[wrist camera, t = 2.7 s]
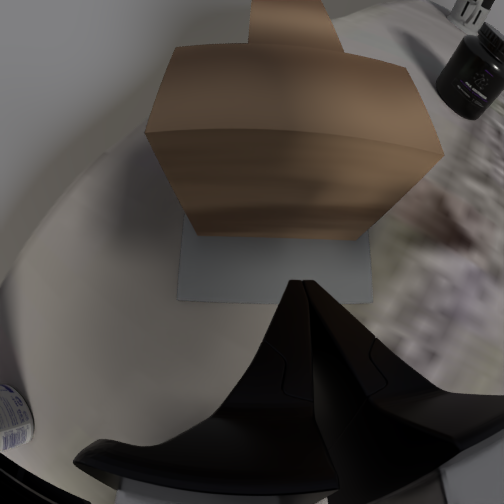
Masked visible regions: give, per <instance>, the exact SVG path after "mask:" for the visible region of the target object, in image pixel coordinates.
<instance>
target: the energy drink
mask: <svg viewBox="0 0 504 504" xmlns="http://www.w3.org/2000/svg"><path fill="white" fill-rule="evenodd" d="M33 432H34V424H33V419H32V415H31V413H30V410H29V408H28V406H27V404H26V402H25V401H24V399H23V398H22V396H21V395H20V394H19V393H18V392H17V391H16V390H15V389H14V388H12V387H11V386H9V385H6V384H2V385H0V452H3V451H6V450H9V449H12V448H15V447H17V446H20V445H23V444H25V443H28V442H30V441H31V439H32V437H33Z"/></svg>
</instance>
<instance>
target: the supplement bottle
mask: <svg viewBox="0 0 504 504" xmlns="http://www.w3.org/2000/svg"><path fill="white" fill-rule="evenodd" d="M478 34H479V35H478V36H474V35H467V36H465V37H464V38H463V39H462V41H461V42H460V44H459V45H458V47H457V49H456V50H455V52H454V53H453V55H452V57H451V58H450V60H449V61H448V63H447V65H446V66H445V68H444V69H443V71H442V72H441V74H440V76H439V77H438V79H437V81H436V87H437V90H438V92H439V94H440V96H441V97H442V99H443V100H444V101H445V102H446V103H447V104H448V106H449V107H450V108H452V109H453V110H454V111H455V112H456V113H458V114H459V115H460V116H462V117H464V118H466V119H468V120H476V119H478V118H479V117H480V116H481V115H482V114H483V113H484V112H485V110H486V109H487V108H488V107H489V106H490V105H491V104H492V103H493V101H494V100H495V99H496V98H497V97H498V96H499V95H500V93H501V92H502V91H503V90H504V36H503V35H502V34H501V33H500V32H499V31H498V30H496V29H495V28H494V27H492V26H491V25H490V24H488V23H486V22H484V23H483V25H482V26H481V28H480V29H479V30H478Z"/></svg>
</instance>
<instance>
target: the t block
mask: <svg viewBox="0 0 504 504" xmlns="http://www.w3.org/2000/svg"><path fill="white" fill-rule="evenodd" d="M145 135H146V137H147V139H148V141H149V143H150V145H151V147H152V149H153V151H154V153H155V155H156V157H157V159H158V161H159V163H160V165H161V167H162V169H163V171H164V173H165V175H166V177H167V179H168V181H169V183H170V185H171V187H172V189H173V190H174V192H175V194H176V196H177V198H178V200H179V202H180V204H181V206H182V208H183V209H184V211H185V213H186V215H187V217H188V219H189V221H190V223H191V224H192V226H193V228H194V230H195V232H196V234H197V236H227V237H265V238H298V239H326V240H352V241H356V240H357V239H358V238H359V237H360V236H361V235H362V234H363V233H365V232H366V231H367V230H368V229H369V228H370V227H371V226H372V225H373V224H374V223H376V222H377V221H378V220H379V219H380V218H381V217H382V216H383V215H384V214H385V213H386V212H387V211H388V210H390V209H391V208H392V207H393V206H394V205H395V204H396V203H397V202H398V201H399V200H400V199H401V198H402V197H403V196H404V195H405V194H406V193H407V192H408V191H409V190H410V189H411V188H412V187H413V186H414V185H416V184H417V183H418V182H419V181H420V180H421V179H422V178H423V177H424V176H425V175H426V174H427V173H428V172H429V171H430V170H431V169H432V167H433V166H434V165H435V164H436V163H437V162H438V161H439V160H440V159H441V158H442V157H443V156H444V153H443V150H442V147H441V144H440V141H439V139H438V136H437V134H436V131H435V128H434V126H433V124H432V121H431V119H430V116H429V114H428V112H427V110H426V107H425V105H424V103H423V101H422V99H421V97H420V95H419V92H418V90H417V88H416V86H415V84H414V83H413V81H412V79H411V77H410V75H409V73H408V71H407V69H406V68H404V67H401V66H398V65H394V64H391V63H387V62H384V61H380V60H376V59H372V58H367V57H363V56H358V55H354V54H349V53H344V50H343V48H342V45H341V43H340V41H339V38H338V36H337V33H336V31H335V29H334V27H333V24H332V22H331V20H330V18H329V16H328V14H327V12H326V10H325V8H324V6H323V4H322V2H321V0H252V3H251V14H250V26H249V38H248V43H234V44H233V43H232V44H207V45H194V46H185V47H184V46H183V47H176V48H175V50H174V52H173V55H172V57H171V59H170V62H169V65H168V67H167V69H166V72H165V75H164V77H163V80H162V82H161V85H160V88H159V91H158V93H157V96H156V99H155V102H154V105H153V108H152V111H151V114H150V117H149V120H148V123H147V126H146V130H145Z"/></svg>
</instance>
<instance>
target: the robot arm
mask: <svg viewBox="0 0 504 504" xmlns="http://www.w3.org/2000/svg"><path fill="white" fill-rule="evenodd" d="M73 464H74V465H75V466H76V467H78V468H79V469H81V470H82V471H84V472H85V473H87V474H88V475H90V476H92V477H93V478H95V479H97V480H99V481H100V482H102V483H104V484H106V485H107V486H109V487H111V488H113V489H115V490H117V493H116V498H115V503H114V504H315V503H317V502H319V501H320V500H322V499H324V498H326V497H327V499H328V504H504V395H476V394H461V393H451V392H447V391H444V390H442V389H440V388H438V387H436V386H435V385H434V384H432V383H431V382H430V381H428V380H427V379H426V378H424V377H423V376H422V375H421V374H419V373H418V372H417V371H415V370H414V369H413V368H412V367H410V366H409V365H408V364H406V363H405V362H404V361H403V360H401V359H400V358H399V357H398V356H397V355H395V354H394V353H393V352H392V351H391V350H390V349H389V348H387V347H386V346H385V345H384V344H383V343H382V342H381V341H380V340H379V339H378V338H375V336H374V335H373V334H372V333H371V332H370V331H369V330H368V329H367V328H366V327H365V326H364V325H363V324H362V323H361V322H359V321H358V320H357V319H356V318H355V317H354V316H353V315H352V314H351V313H350V312H349V311H348V310H346V309H345V308H344V307H343V306H342V305H341V304H340V303H339V302H338V301H337V300H336V299H335V298H333V297H332V296H331V295H330V294H329V293H328V292H327V291H326V290H325V289H324V288H323V287H321V286H320V285H319V284H318V283H317V282H316V281H315V280H302V281H301V280H289V281H288V284H287V286H286V288H285V291H284V293H283V295H282V298H281V300H280V302H279V305H278V307H277V309H276V312H275V314H274V316H273V318H272V321H271V323H270V325H269V327H268V330H267V332H266V334H265V336H264V338H263V341H262V342H261V345H260V347H259V349H258V351H257V353H256V355H255V357H254V359H253V361H252V362H251V364H250V365H249V367H248V369H247V370H246V372H245V373H244V375H243V376H242V377H241V379H240V380H239V382H238V383H237V384H236V386H235V387H234V388H233V390H232V391H231V392H230V394H229V395H228V397H227V398H226V399H225V401H224V402H223V403H222V404H221V406H220V407H219V408H218V409H217V410H216V411H215V412H214V413H213V414H212V415H211V416H210V417H209V418H207V419H206V420H204V421H202V422H201V423H199V424H197V425H196V426H194V427H192V428H190V429H189V430H187V431H185V432H183V433H181V434H180V435H178V436H176V437H174V438H172V439H170V440H168V441H166V442H164V443H162V444H159V445H154V446H135V445H130V444H126V443H122V442H118V441H114V440H108V439H99V440H97V441H95V442H93V443H92V444H90V445H89V446H87V447H86V448H84V449H83V450H82V451H81V452H80V453H78V455H77V456H76V457H75V459H74V460H73ZM0 504H91V502H89V501H86V500H84V499H82V498H79V497H77V496H75V495H73V494H70V493H68V492H66V491H64V490H62V489H60V488H58V487H56V486H54V485H52V484H50V483H48V482H46V481H44V480H43V479H41V478H39V477H37V476H36V475H34V474H32V473H30V472H29V471H27V470H25V469H24V468H22V467H21V466H19V465H18V464H16V463H14V462H13V461H11V460H10V459H9V458H7V457H6V456H4V455H3V454H1V453H0Z"/></svg>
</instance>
